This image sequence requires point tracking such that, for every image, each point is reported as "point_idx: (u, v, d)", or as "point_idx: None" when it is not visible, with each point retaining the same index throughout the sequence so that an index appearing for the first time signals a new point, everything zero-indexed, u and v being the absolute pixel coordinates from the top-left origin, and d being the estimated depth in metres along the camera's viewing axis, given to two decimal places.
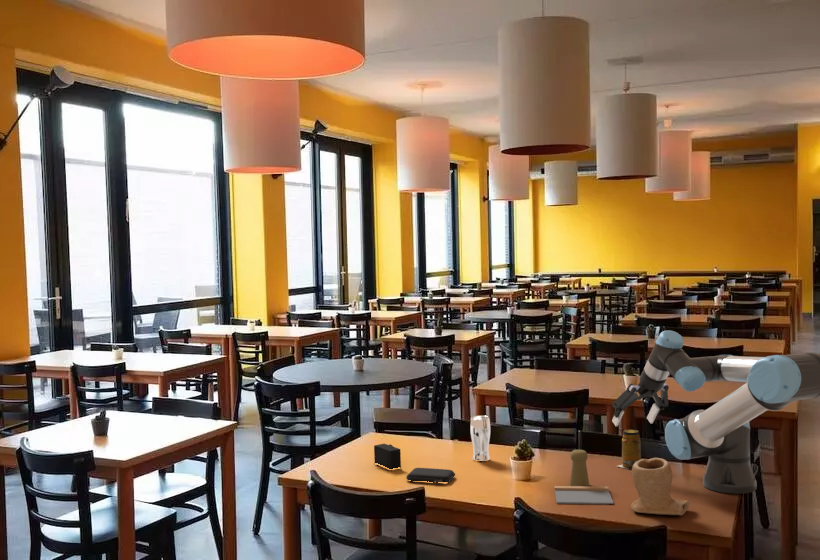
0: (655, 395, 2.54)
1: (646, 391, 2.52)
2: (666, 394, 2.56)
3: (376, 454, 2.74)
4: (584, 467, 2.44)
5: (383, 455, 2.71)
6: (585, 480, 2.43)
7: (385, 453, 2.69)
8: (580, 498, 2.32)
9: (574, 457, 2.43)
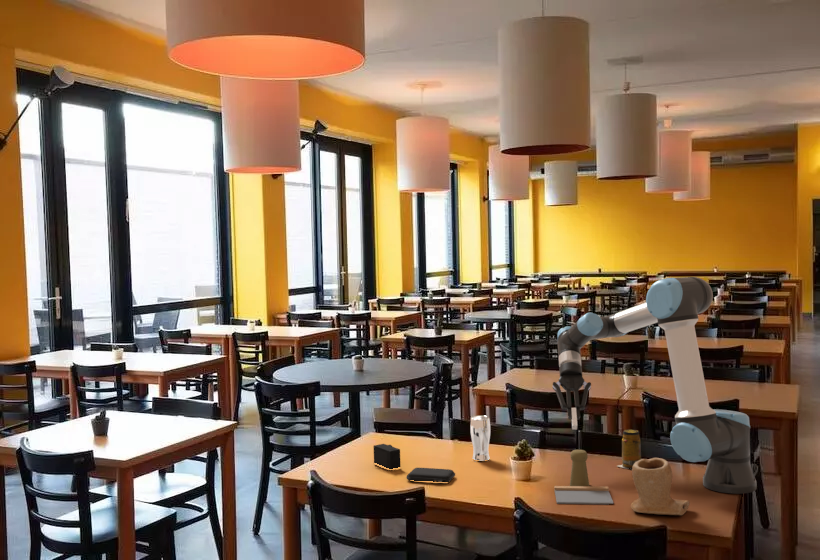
0: (575, 384, 2.63)
1: (566, 380, 2.65)
2: (586, 391, 2.62)
3: (375, 454, 2.74)
4: (584, 467, 2.44)
5: (382, 456, 2.71)
6: (585, 480, 2.43)
7: (385, 453, 2.69)
8: (580, 498, 2.32)
9: (574, 457, 2.43)
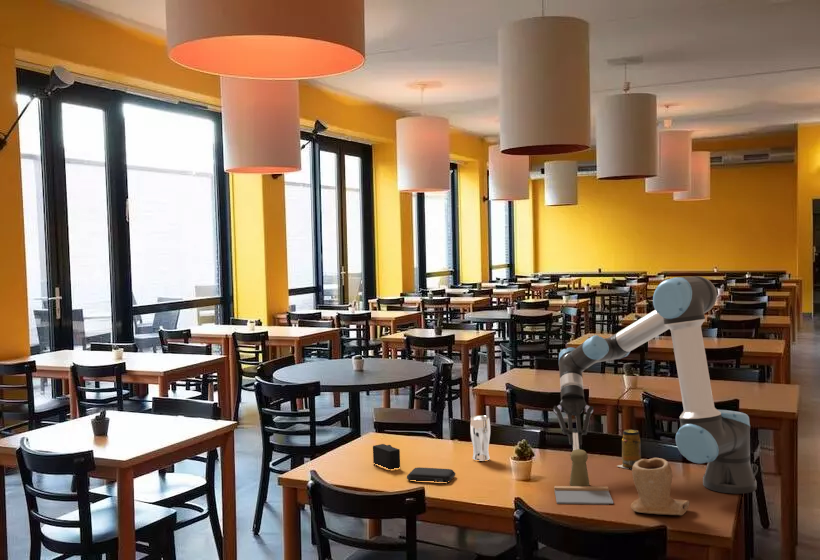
0: (577, 408, 2.55)
1: None
2: (588, 415, 2.54)
3: (375, 454, 2.74)
4: (584, 468, 2.42)
5: (382, 456, 2.70)
6: (585, 480, 2.43)
7: (385, 453, 2.69)
8: (580, 498, 2.32)
9: (574, 459, 2.41)
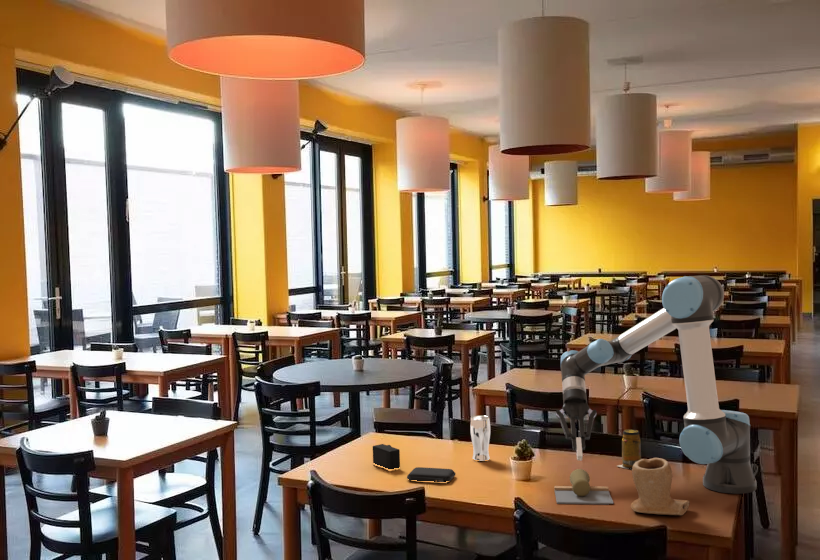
0: (580, 412, 2.50)
1: (570, 407, 2.52)
2: (591, 419, 2.49)
3: (375, 455, 2.74)
4: None
5: (382, 456, 2.70)
6: None
7: (384, 453, 2.69)
8: (580, 498, 2.32)
9: None
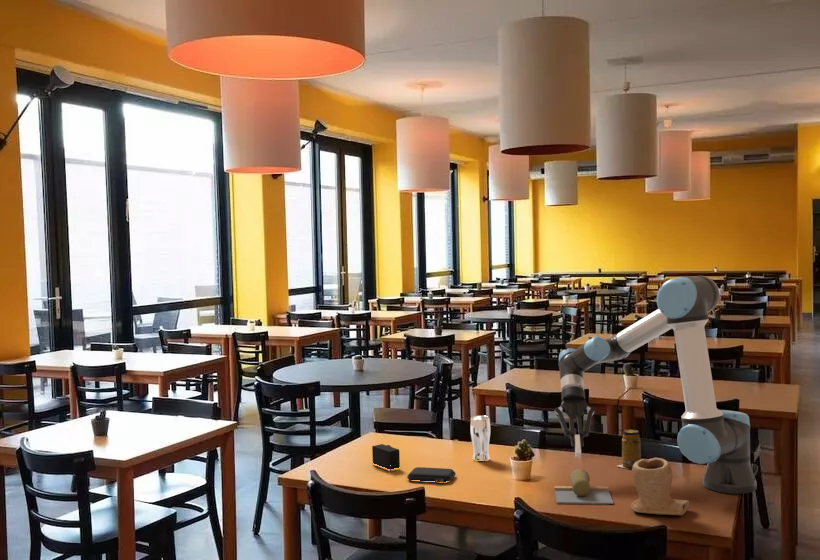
0: (578, 410, 2.53)
1: (568, 405, 2.55)
2: (590, 416, 2.52)
3: (374, 455, 2.74)
4: None
5: (381, 456, 2.70)
6: None
7: (384, 453, 2.69)
8: (580, 498, 2.32)
9: None
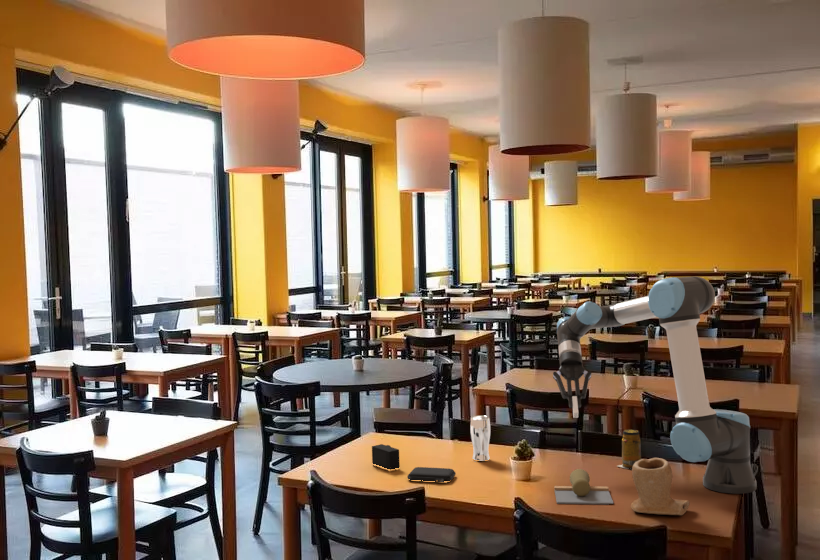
0: (576, 373, 2.63)
1: None
2: (587, 379, 2.61)
3: (374, 455, 2.73)
4: None
5: (381, 456, 2.70)
6: None
7: (384, 453, 2.69)
8: (580, 498, 2.32)
9: None
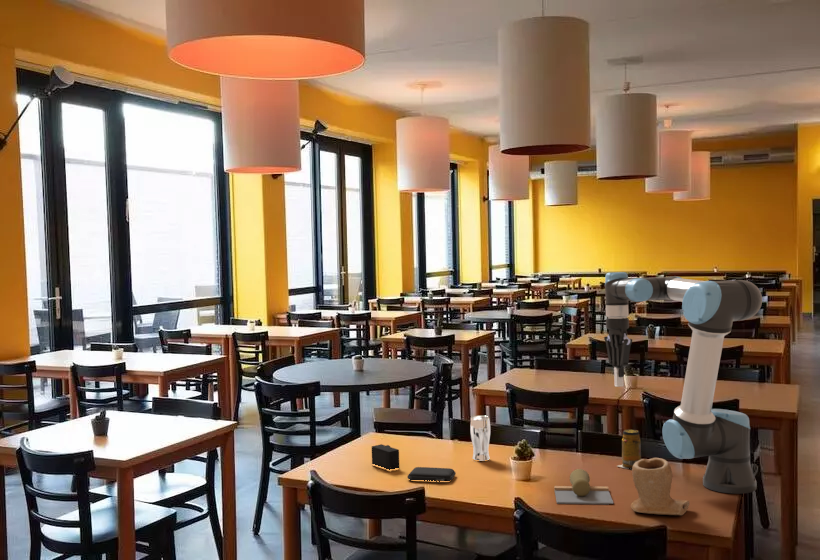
0: (615, 342, 2.69)
1: None
2: (623, 349, 2.66)
3: (374, 455, 2.73)
4: None
5: (381, 456, 2.70)
6: None
7: (384, 454, 2.68)
8: (580, 498, 2.32)
9: None
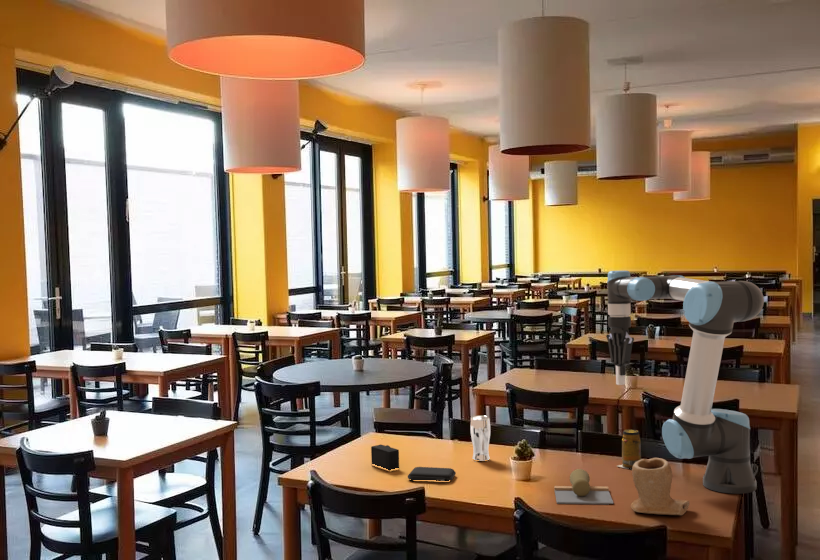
0: (617, 340, 2.69)
1: None
2: (625, 348, 2.66)
3: (373, 455, 2.73)
4: None
5: (381, 456, 2.70)
6: None
7: (384, 454, 2.68)
8: (580, 498, 2.32)
9: None
